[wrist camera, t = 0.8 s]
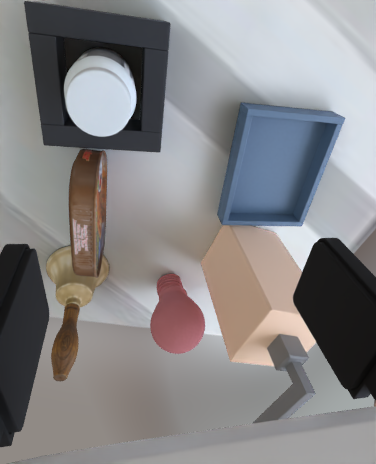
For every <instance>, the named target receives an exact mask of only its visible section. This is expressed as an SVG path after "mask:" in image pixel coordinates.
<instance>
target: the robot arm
mask: <svg viewBox="0 0 376 464" xmlns="http://www.w3.org/2000/svg"><path fill="white" fill-rule="evenodd" d="M293 303H294V305H295V307H296V309H297V310H298V312H299V314H300V315H301V317H302V319H303V320H304V322H305V324H306V325H307V327H308V329H309V331H310V332H311V334H312V336H313V337H314V339H315V341H316V342H317V344H318V346H319V347H320V349H321V351H322V353H323V354H324V356H325V358H326V359H327V361H328V363H329V364H330V366H331V368H332V369H333V371H334V373H335V375H336V376H337V378H338V380H339V381H340V383H341V385H342V386H343V387H344V388H345V389H348V391H349V392H350V394H351V396H352V397H353V399H357V398H365V397H368V396H369V395H370V394H371V395H372V396H373V398H374V399H375V402H374V407H367V408H360V409H352V410H346V411H338V412H331V413H324V414H316V415H309V416H302V417H296V418H288V419H281V420H274V421H267V422H260V423H253V424H246V425H239V426H233V427H225V428H218V429H212V430H205V431H198V432H191V433H185V434H178V435H171V436H164V437H158V438H151V439H145V440H138V441H131V442H124V443H118V444H111V445H106V446H99V447H93V448H87V449H81V450H76V451H69V452H63V453H58V454H51V455H45V456H40V457H36V458H32V459H27V460H22V461H18V462H13V463H8V464H376V277H375V276H374V275H373V274H372V273H371V272H370V271H369V270H368V269H367V268H366V267H365V266H364V265H363V264H362V263H361V262H360V260H359V259H358V258H357V257H356V256H355V255H354V254H353V253H352V252H351V251H350V250H349V249H348V248H347V247H346V246H345V245H344V244H343V243H342V242H341V241H340V240H339V239H338V238H321V239H319V240H318V241H317V242H316V243H315V244H314V245H313V247H312V250H311V252H310V255H309V257H308V259H307V262H306V264H305V267H304V269H303V272H302V274H301V277H300V279H299V282H298V284H297V287H296V289H295V292H294V294H293ZM48 321H49V307H48V303H47V298H46V294H45V289H44V284H43V280H42V275H41V271H40V266H39V261H38V257H37V252H36V250H35V249H30V248H29V246H28V244H7V245H5V246H4V248H3V250H2V252H1V254H0V447H5V446H11V445H12V441H13V437H14V433H15V432H19V431H21V430H22V427H23V424H24V420H25V416H26V412H27V408H28V403H29V400H30V396H31V391H32V387H33V383H34V379H35V375H36V371H37V367H38V362H39V358H40V354H41V350H42V345H43V341H44V338H45V333H46V329H47V325H48Z"/></svg>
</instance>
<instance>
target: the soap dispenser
mask: <svg viewBox="0 0 376 464" xmlns="http://www.w3.org/2000/svg"><path fill="white" fill-rule="evenodd" d="M201 265H202V269H203V272H204V275H205V279H206V282H207V285H208V289H209V292H210V295H211V299H212V302H213V305H214V309H215V312H216V315H217V319H218V322H219V325H220V329H221V332H222V335H223V339H224V342H225V345H226V349H227V352H228V355H229V359H230V361H231V362H238V363H239V362H240V363H248V364H257V365H266V366H274V367H275V369H276V370H280V371H287V372H288V374H289V376H290V378H291V380H292V382H293V384H292V385H291V386H290V388H288V389H287V390H286V391H285V392H284V393H283V394H282V395H281V396H280V397H279V398H278V399H277V400H276V401H275V402H274V403H273V404H272V405H271V406H270V407H269V408H267V410H265V412H264V413H262V414H261V415H260V416H259V418H257V419H256V420H255V421H254V422H253V423H260V422H267V421H274V420H281V419H288V418H289V417H290V416H291V415H292V414H293V413H295V412H296V411H297V410H298V409H299V408H300V407H301V406H302V405H304V404H305V403H306V402H307V401H308V400H309V399H310V398H312V397H313V396H314V395H315V391H314V389H313V387H312V385H311V383H310V381H309V379H308V377H307V375H306V373H305V371H304V369H303V367H302V365H303V364H304V363H305V362H306V361H307V360H308V358H309V357H308V355H307V353H306V352H307V351H308V350H309V349H310V348H311V347H312V346H313V345H314V344H315V343H316V341H315V339H314V337H313V336H312V334H311V332H310V331H309V329H308V327H307V325H306V324H305V322H304V320H303V319H302V317H301V315H300V314H299V312H298V310H297V309H296V307H295V305H294V303H293V294H294V292H295V289H296V287H297V284H298V282H299V279H300V277H301V274H302V271H301V270H300V268H299V267H298V265H297V264H296V262H295V261H294V259H293V258H292V256H291V255H290V254H289V252H288V251H287V249H286V248H285V246H284V245H283V243H282V242H281V240H280V239H279V237H278V236H277V234H276V233H274V232H271V231H268V230H264V229H261V228H258V227H254V226H251V225H222V227H221V229H220V231H219V232H218V234H217V236H216V237H215V239H214V241H213V243H212V244H211V246H210V248H209V250H208V251H207V253H206V255H205V257H204V258H203V260H202V262H201ZM253 423H252V424H253Z"/></svg>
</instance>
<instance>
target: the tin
mask: <svg viewBox="0 0 376 464" xmlns="http://www.w3.org/2000/svg"><path fill="white" fill-rule="evenodd" d="M106 191H107V159H106V153H105V151H104V150H102V151H96V150H88V149H81V150H80V151H79V153H78V155H77V157H76V159H75V161H74V163H73V166H72V170H71V176H70V184H69V223H70V241H71V256H72V267H73V271H74V273H75V274H76V275H78V276H89V277H96V278H98V277H99V274H100V270H101V265H102V258H103V250H104V243H105V227H106Z"/></svg>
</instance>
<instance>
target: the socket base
mask: <svg viewBox="0 0 376 464" xmlns="http://www.w3.org/2000/svg"><path fill="white" fill-rule="evenodd" d="M24 4H25V12H26V19H27V26H28V32H29V41H30V48H31V55H32V62H33V70H34V77H35V84H36V91H37V99H38V106H39V113H40V120H41V128H42V136H43V143H44V145H48V146H64V147H80V148H97V149H113V150H129V151H146V152H160V150H161V137H162V124H163V112H164V99H165V86H166V74H167V61H168V48H169V35H170V23H169V22H166V21H161V20H154V19H147V18H141V17H134V16H127V15H120V14H114V13H107V12H100V11H94V10H87V9H80V8H74V7H67V6H60V5H54V4H47V3H40V2H30V1H24ZM64 37H66V38H73V39H81V40H89V41H96V42H104V43H112V44H119V45H127V46H135V47H142V69H141V96H140V120H138V119H129V121H128V123H127V124H126V126H125V127H124V128H123V129H122V130H121V131H119V132H118V133H116V134H114V135H111V136H106V137H99V136H94V135H91V134H88V133H86V132H84V131H83V130H81V129H80V128H79V127H78V126H77V125H76V124H75V123H74V122H73V121H72V119H71V117H70V116H69V114H68V111H67V108H66V102H65V96H64V82H65V78H66V75H67V71H66V60H65V48H64Z"/></svg>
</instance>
